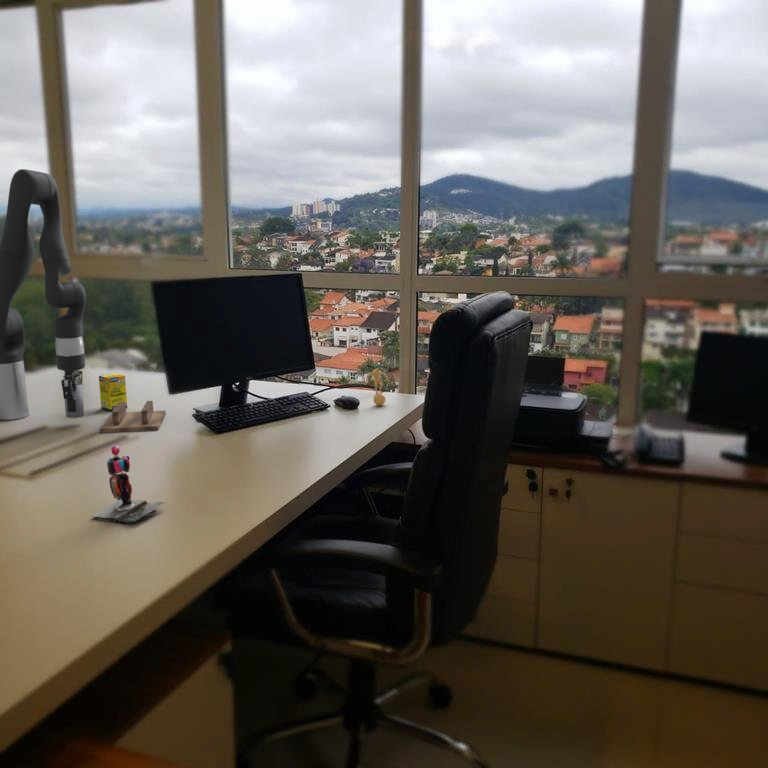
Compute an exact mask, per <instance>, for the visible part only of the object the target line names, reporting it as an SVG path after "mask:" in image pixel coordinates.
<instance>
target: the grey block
mask: <svg viewBox="0 0 768 768" xmlns="http://www.w3.org/2000/svg"><path fill="white" fill-rule="evenodd" d="M72 388H74V387H72ZM82 388H83V384H82V385H81V384H78V387H77V392H76V398H75V399H76V412H68V408H67V400H66V399H64V407H65V408H64V410H65V417H66V418H67V419H75V418H82V417H85V407H84V395H83V394H84V392H83V390H82ZM68 395H71V394H70V392H68Z"/></svg>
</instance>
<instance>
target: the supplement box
mask: <svg viewBox="0 0 768 768" xmlns="http://www.w3.org/2000/svg"><path fill="white" fill-rule="evenodd" d="M98 384H99V385H98V386H99V396H100V397H99V398H100V409H101V410H104V411H108V412H111V413H112V412H113V410H114V409H115V408H116V406H117V405H118V404H119V402H125V405H126V409H128V397H127V396H128V395H127V383H126V375H125V374H120V373H117V372H114V373H109V374H108V373H107V374H102V375H98Z"/></svg>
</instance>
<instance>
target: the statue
mask: <svg viewBox="0 0 768 768" xmlns="http://www.w3.org/2000/svg"><path fill="white" fill-rule="evenodd" d="M120 452H121V450H120V446H119V445H114V446H112V447H111V453H112V455H113V457H112V458H111V457H109V459H107V461H106V466H107V473H108V474H109V476H110V477H109V478H108V479H109V480H108V481H109V487H110V491H111V494H112V497H113V498H114V499H116V500H117V501H115V502H113V503H112V504H109V505H108V506H106V507H104V508H103V509H100V510H99V511H97V512H96V513H94V514H92V515H90V517H91V516H92V518H90V519H92V520H99V521H100V522H101V521H106V522H116V521H118V524H122V525H124V524H125V525H126V524H127V525H129V524H135V523H137V522H138V521H139V519H140V521H142V520H145V519H148V517H149V516H153V515H155V514H156V512H157V511H156V509H157V508H159V507H160V506H161V505H163V504H164V503H165V502H164V501H157V502H148V501H146V499H135V498H133V499H132V493H133V488H132V484H131V483H130V478H129V477H130V476H129V475H128V474H127V473H129V472H130V469H131V468H130V467H131V465H130V464H131V463H130V456H128V455H125V456H124V455H122V456H120V455H119V454H120Z"/></svg>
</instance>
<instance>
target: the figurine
mask: <svg viewBox="0 0 768 768" xmlns="http://www.w3.org/2000/svg"><path fill="white" fill-rule="evenodd" d="M372 375H373V377H374V379H373V384H374V390H375V394H374V396H373V398H372V399H373V403H374V404H375V405H376V406H383V405H384V404H385V403H386V396H385V395H384V393H383V392H382V388H383V382H382V378H380V376H381V375H384V376H385V378H386V379H387V381H388V382H389V383H390V382H391V381H390V379H389V377H388V376H387V374H386V373H385V372H383V371H382V370H380V369H379V367H377V368H375V369H373V371H371V372H370V373H368V374H367V375H366V379H365V384H366V385H367V384H368V380H369V377H370V376H372ZM378 385H379V388H378ZM378 389H379V390H378ZM378 391H379V393H378Z"/></svg>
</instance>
